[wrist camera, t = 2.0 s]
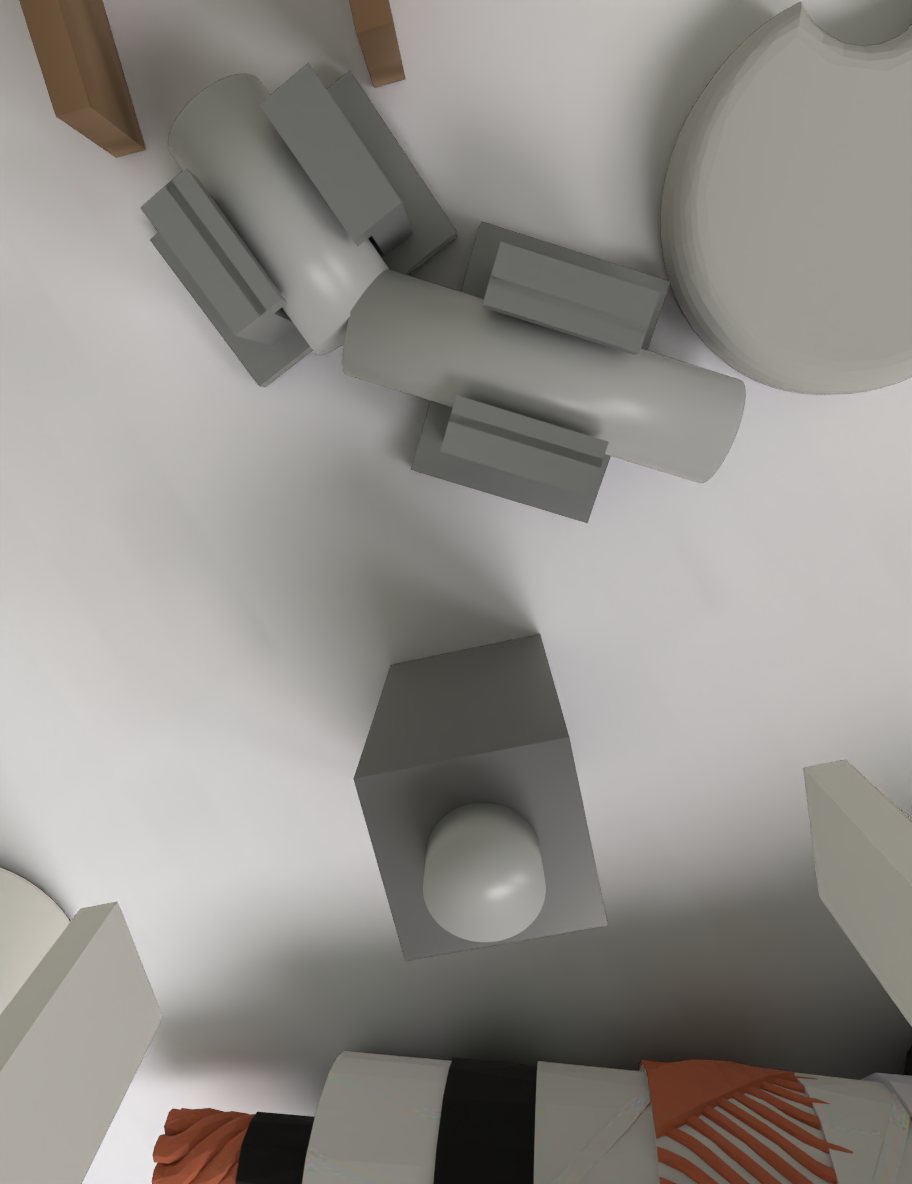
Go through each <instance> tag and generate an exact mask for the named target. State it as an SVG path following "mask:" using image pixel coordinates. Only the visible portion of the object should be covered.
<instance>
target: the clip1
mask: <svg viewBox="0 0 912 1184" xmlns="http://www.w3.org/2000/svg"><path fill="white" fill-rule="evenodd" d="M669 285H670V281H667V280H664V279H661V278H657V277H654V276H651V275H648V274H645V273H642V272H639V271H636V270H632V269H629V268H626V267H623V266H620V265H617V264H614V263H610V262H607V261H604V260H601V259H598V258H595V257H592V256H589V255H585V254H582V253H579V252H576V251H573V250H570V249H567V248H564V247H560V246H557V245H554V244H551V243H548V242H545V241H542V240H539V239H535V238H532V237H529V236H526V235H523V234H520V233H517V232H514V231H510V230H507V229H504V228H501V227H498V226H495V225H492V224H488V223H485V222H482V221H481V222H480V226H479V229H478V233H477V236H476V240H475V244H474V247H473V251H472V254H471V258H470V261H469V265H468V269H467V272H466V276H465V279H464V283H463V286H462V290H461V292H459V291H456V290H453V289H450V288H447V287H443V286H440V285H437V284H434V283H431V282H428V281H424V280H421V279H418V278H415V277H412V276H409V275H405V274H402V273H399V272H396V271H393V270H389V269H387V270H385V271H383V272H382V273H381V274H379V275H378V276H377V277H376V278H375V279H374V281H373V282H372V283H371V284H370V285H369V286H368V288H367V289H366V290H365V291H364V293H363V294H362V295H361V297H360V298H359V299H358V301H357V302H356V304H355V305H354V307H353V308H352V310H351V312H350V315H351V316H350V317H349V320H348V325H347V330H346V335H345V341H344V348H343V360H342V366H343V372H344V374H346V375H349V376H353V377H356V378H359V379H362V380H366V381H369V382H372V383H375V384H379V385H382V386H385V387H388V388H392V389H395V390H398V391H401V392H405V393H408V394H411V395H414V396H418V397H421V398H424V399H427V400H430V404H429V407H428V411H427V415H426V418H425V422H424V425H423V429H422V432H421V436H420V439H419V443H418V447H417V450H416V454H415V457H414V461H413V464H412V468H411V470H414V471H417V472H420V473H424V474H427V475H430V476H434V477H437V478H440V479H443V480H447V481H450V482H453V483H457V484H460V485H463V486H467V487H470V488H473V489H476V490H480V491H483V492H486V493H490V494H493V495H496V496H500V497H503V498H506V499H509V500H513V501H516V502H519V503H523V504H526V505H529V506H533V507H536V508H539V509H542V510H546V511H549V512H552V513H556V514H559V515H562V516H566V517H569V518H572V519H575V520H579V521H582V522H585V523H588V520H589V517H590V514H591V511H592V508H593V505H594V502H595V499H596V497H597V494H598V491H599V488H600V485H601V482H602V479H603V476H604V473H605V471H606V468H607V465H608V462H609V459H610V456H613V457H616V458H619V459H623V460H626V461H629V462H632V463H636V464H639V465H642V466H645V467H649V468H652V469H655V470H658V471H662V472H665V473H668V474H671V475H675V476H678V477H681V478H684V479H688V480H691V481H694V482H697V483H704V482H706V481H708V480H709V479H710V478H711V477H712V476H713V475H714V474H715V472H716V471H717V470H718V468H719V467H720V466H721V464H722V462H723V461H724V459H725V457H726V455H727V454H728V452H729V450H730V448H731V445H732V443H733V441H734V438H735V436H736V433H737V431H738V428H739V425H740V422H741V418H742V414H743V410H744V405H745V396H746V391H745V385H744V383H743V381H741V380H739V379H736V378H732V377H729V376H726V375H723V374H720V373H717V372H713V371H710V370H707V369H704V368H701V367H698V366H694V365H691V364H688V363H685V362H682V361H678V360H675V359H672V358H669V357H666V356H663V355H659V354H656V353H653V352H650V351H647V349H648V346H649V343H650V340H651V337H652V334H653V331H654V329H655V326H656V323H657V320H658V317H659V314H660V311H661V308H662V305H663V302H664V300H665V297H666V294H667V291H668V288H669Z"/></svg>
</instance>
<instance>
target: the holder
mask: <svg viewBox="0 0 912 1184" xmlns="http://www.w3.org/2000/svg"><path fill="white" fill-rule="evenodd" d="M661 239H662V250H663V256H664V262H665V266H666V270H667V274H668V278H669V281H670V284H671V287H672V290H673V292H674V295H675V297H676V299H677V302H678V304H679V306H680V308H681V310H682V312H683V314H684V315H685V317H686V319H687V320H688V322H689V323H690V325H691V327H692V328H693V329H694V331H695V332H696V333H697V335H698V336H699V337H700V338H701V340H702V341H703V342H704V343H705V344H706V345H707V346H708V347H709V348H710V349H711V350H712V351H713V352H714V353H715V354H716V355H717V356H718V357H719V358H721V359H722V360H723V361H724V362H725V363H727V364H728V365H729V366H731V367H732V368H734V369H735V370H737V371H738V372H740V373H742V374H744V375H745V376H747V377H749V378H751V379H753V380H755V381H758V382H760V383H763V384H765V385H768V386H770V387H774V388H777V389H781V390H784V391H790V392H795V393H801V394H816V395H827V394H851V393H858V392H866V391H870V390H875V389H879V388H883V387H886V386H889V385H893V384H896V383H899V382H901V381H904V380H906V379H908V378H911V377H912V24H911V25H910V26H909V28H908V29H907V30H906V31H905V32H904V33H903V34H901V35H900V36H898V37H896V38H894V39H891V40H889V41H886V42H884V43H881V44H876V45H868V46H860V45H854V44H848V43H843V42H841V41H839V40H837V39H835V38H833V37H831V36H829V35H828V34H826V33H824V32H823V31H822V30H821V29H820V28H819V27H818V26H817V25H816V24H815V23H814V22H813V21H812V20H811V19H810V17H809V16H808V14H807V13H806V11H805V10H804V8H803V5H802V3H801V2H799V3H797V4H795V5H793V6H792V7H790V8H788V9H786V10H784V11H783V12H781V13H780V14H778V15H777V16H775V17H774V18H772V19H771V20H769V21H768V22H766V23H765V24H764V25H762V26H761V27H760V28H759V29H758V30H756V31H755V32H754V33H753V34H752V35H750V36H749V37H748V38H747V39H746V40H745V41H744V42H743V43H742V44H741V45H740V46H739V47H738V48H737V49H736V50H735V51H734V52H733V53H732V54H731V55H730V56H729V58H728V59H727V60H726V61H725V62H724V63H723V65H722V66H721V67H720V68H719V69H718V71H717V72H716V74H715V75H714V76H713V78H712V79H711V81H710V82H709V83H708V85H707V86H706V88H705V89H704V90H703V92H702V93H701V95H700V96H699V98H698V99H697V101H696V103H695V104H694V106H693V108H692V109H691V111H690V113H689V114H688V116H687V118H686V120H685V123H684V125H683V127H682V129H681V131H680V133H679V135H678V138H677V141H676V143H675V146H674V149H673V151H672V154H671V158H670V161H669V165H668V169H667V172H666V177H665V183H664V188H663V194H662V205H661Z"/></svg>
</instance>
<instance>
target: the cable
mask: <svg viewBox="0 0 912 1184" xmlns="http://www.w3.org/2000/svg"><path fill="white" fill-rule="evenodd" d="M164 1129H165V1135H164V1134H163V1135H160V1136H159V1138H158V1140H157V1142H156V1145H155V1147H154V1151H153V1160H154V1162H158V1163H157V1165H156V1167H155V1169H154V1172H153V1177H152V1184H912V1046H911V1047H910V1049H909V1051H908V1052H907V1057H906V1064H905V1071H904V1075H897V1074H886V1073H873V1074H871V1075H869V1076H867V1077H865V1078H863V1079H861V1080H855V1079H846V1078H838V1077H829V1076H821V1075H813V1074H804V1073H796V1072H790V1071H783V1070H777V1069H770V1068H763V1067H756V1066H749V1065H744V1064H740V1063H736V1062H731V1061H720V1060H695V1059H692V1060H685V1061H678V1062H671V1063H665V1062H658V1061H648V1060H641V1063H639V1070H638V1071H633V1070H623V1069H613V1068H603V1067H593V1066H583V1065H573V1064H563V1063H552V1062H542V1061H538V1064H537V1066H529V1065H519V1064H509V1063H500V1062H490V1061H480V1060H470V1059H460V1058H453V1060H452V1061H448V1060H437V1059H426V1058H415V1057H405V1056H394V1055H383V1054H372V1053H361V1052H351V1051H344V1052H342V1053H341V1054H340V1055H339V1056H338V1057H337V1058H336V1060H335V1062H334V1064H333V1066H332V1067H331V1069H330V1071H329V1073H328V1076H327V1079H326V1082H325V1085H324V1088H323V1091H322V1094H321V1097H320V1100H319V1103H318V1106H317V1109H316V1114H315V1117H310V1116H299V1115H288V1114H277V1113H265V1112H257V1113H256V1114H252V1115H249V1114H247V1113H240V1112H234V1111H231V1112H223V1111H219V1110H215V1109H211V1108H205V1109H185V1108H182V1109H181V1110H179V1109H172V1110H171V1111H170V1112H169V1114H168V1117H167V1120H166V1123H165V1126H164Z"/></svg>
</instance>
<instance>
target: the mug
mask: <svg viewBox="0 0 912 1184" xmlns="http://www.w3.org/2000/svg"><path fill="white" fill-rule="evenodd" d="M69 923H70V921H69V919H68V918H67V917H66V915H65V914H64V912H63V911H62V910H61V909H60V908H59V906H58V905H57V904H56V903H55V902H54V901H53V900H52V899H51V898H50V897H49V896H47V895H46V894H45V893H44V892H43V891H42V890H41V889H39V888H38V887H36V886H35V885H33V884H32V883H31V882H29V881H28V880H26V879H24V878H22V877H20V876H18V875H17V874H15V873H12V872H10V871H8V870H5V869H3V868H0V1015H1V1013H2V1012H3V1011H4V1009H5V1008H6V1007H7V1005H8V1004H9V1003H10V1001H11V1000H12V999H13V997H14V996H15V995H16V993H17V992H18V991H19V989H20V988H21V987H22V985H23V984H24V983H25V981H26V980H27V979H28V977H29V976H30V975H31V974H32V972H33V971H34V970H35V968H36V967H37V966H38V964H39V963H40V962H41V960H42V959H43V958H44V956H45V955H46V954H47V952H48V951H49V950H50V948H51V947H52V946H53V944H54V943H55V942H56V940H57V939H58V938H59V936H60V935H61V934H62V932H63V931H64V930H65V928H66V927H67V926H68V924H69Z"/></svg>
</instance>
